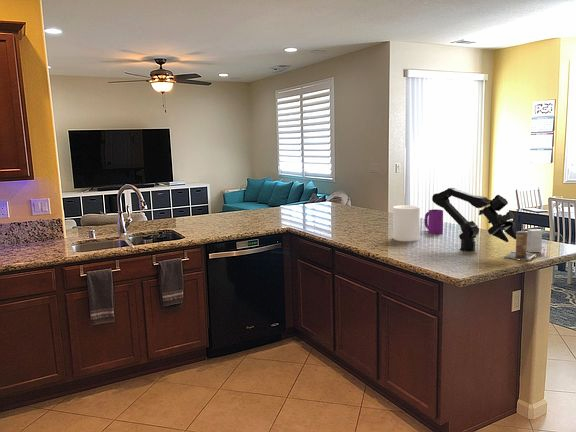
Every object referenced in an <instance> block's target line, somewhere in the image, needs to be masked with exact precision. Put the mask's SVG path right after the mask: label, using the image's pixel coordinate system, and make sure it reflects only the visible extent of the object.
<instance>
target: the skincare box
mask: <svg viewBox="0 0 576 432" xmlns="http://www.w3.org/2000/svg"><path fill="white" fill-rule="evenodd" d="M526 232H528V236H527V251H528V252H527V253H529V252H539V253H542V243H543V241H542V240H543V230H541V229H539V228H534V229H533V228H531V229H526Z"/></svg>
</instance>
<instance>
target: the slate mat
mask: <svg viewBox="0 0 576 432" xmlns="http://www.w3.org/2000/svg"><path fill="white" fill-rule="evenodd" d="M515 256H516V250H511V251H510V253H509V254H506V255H505V256H503V259H507V258H511V259H510V260H514V259H520V260H519V261H522V260H528V261H527V262H530V261H529V260H531V259H532V258H534V257H535V256H536V257H537V254H536V253H529V252H527V256H526V258H516V257H515ZM536 257H535V258H536ZM535 258H534V259H535ZM532 260H533V259H532ZM532 260H531V261H532Z"/></svg>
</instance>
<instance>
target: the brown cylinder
mask: <svg viewBox="0 0 576 432" xmlns="http://www.w3.org/2000/svg"><path fill="white" fill-rule="evenodd" d="M515 234H516V239H515V252H516V256H515V257H516V258H526V256H527V253H528V252H527V236H528V232H527V231H523V230H517V231H516V233H515Z"/></svg>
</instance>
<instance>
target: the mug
mask: <svg viewBox="0 0 576 432" xmlns="http://www.w3.org/2000/svg"><path fill="white" fill-rule="evenodd" d="M424 227H425V228H426V229H427V230H428V233H429V234H432V235H440V234H441V235H442V234H443V233H444V210H443V209H436V208H435V209H429V210H428V211H426V213H425V215H424Z"/></svg>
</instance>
